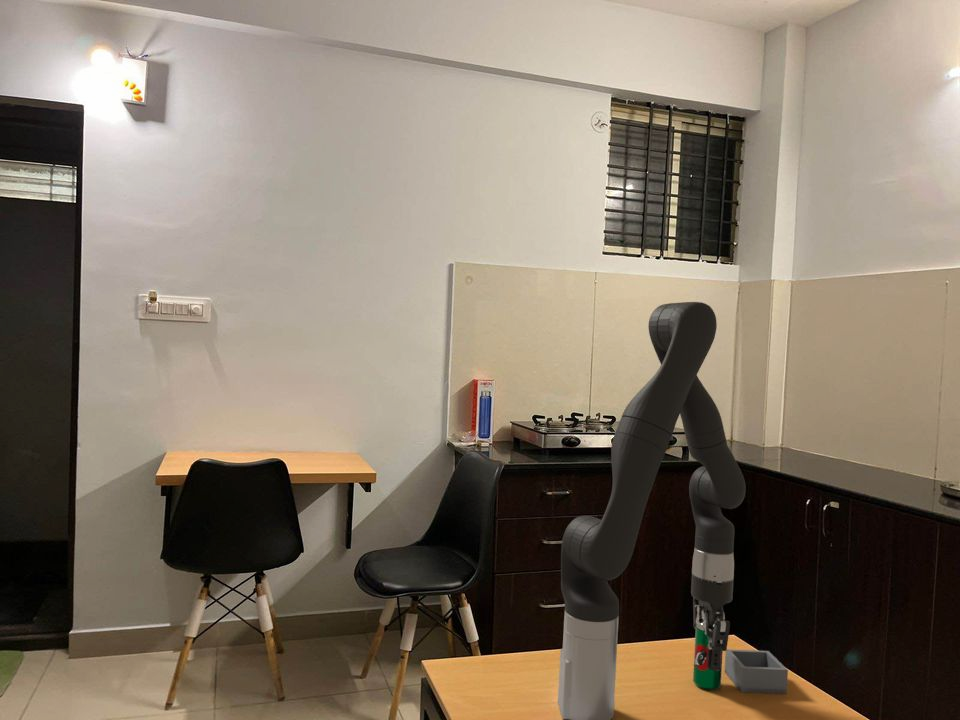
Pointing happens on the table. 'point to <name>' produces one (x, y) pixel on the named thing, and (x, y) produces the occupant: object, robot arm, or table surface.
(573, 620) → the robot arm
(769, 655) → the grey hollow square box
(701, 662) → the soda can
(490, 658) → the table surface
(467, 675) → the table surface
